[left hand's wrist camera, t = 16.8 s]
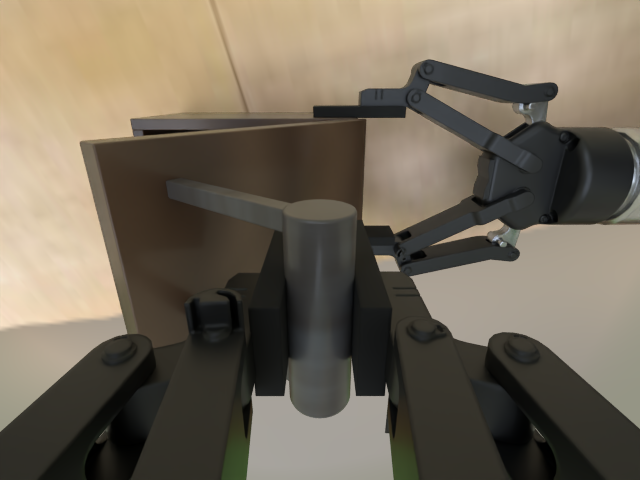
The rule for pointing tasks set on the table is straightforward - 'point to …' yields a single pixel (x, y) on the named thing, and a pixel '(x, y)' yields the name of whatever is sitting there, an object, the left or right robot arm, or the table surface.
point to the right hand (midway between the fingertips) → (314, 177)
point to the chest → (217, 121)
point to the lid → (239, 233)
